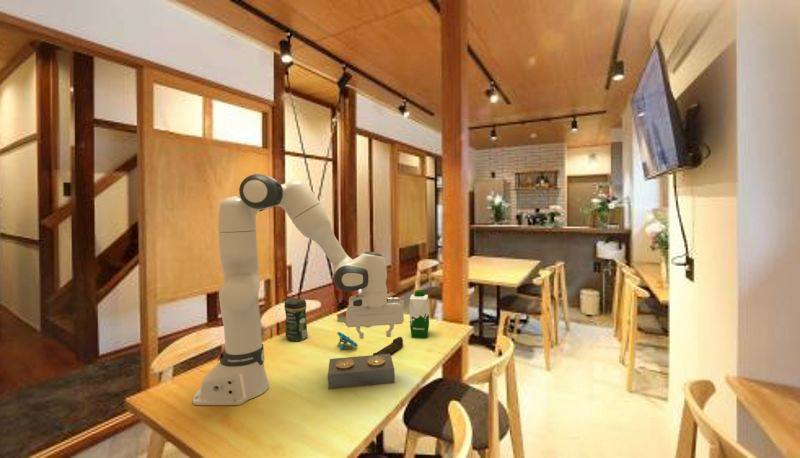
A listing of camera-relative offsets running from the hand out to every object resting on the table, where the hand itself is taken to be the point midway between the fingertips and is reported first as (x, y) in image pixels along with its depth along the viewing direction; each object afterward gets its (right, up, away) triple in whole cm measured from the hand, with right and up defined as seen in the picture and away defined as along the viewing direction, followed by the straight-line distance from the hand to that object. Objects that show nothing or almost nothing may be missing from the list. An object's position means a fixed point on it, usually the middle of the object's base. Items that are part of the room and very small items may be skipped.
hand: (375, 337), depth 123 cm
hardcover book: (-13, -11, +61) cm, 63 cm away
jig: (-5, -14, 0) cm, 15 cm away
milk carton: (+18, -11, +39) cm, 44 cm away
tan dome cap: (0, -13, +1) cm, 13 cm away
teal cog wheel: (-14, -13, +27) cm, 33 cm away
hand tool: (+4, -13, +20) cm, 24 cm away
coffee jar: (-39, -13, +39) cm, 56 cm away
